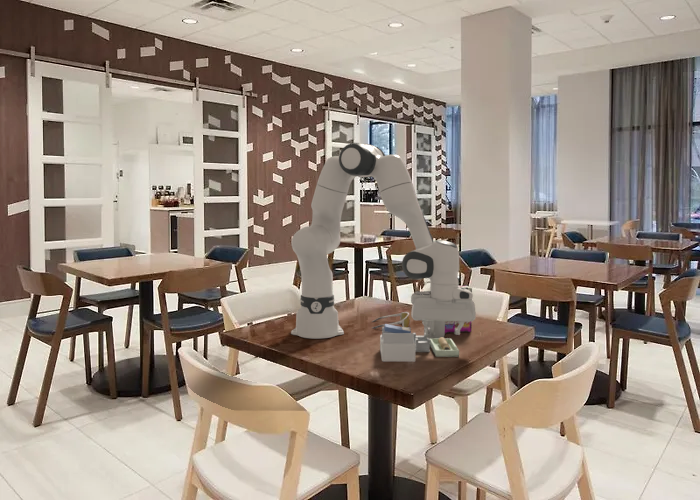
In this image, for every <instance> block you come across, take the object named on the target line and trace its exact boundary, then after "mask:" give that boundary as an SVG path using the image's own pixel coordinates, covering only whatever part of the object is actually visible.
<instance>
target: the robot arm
mask: <svg viewBox="0 0 700 500" xmlns="http://www.w3.org/2000/svg"><path fill="white" fill-rule="evenodd" d="M355 178H373V179H374V180H375V182H376V183H377V187H378V190H379V193H380V197H381V201H382V202H383V205H384V207H385V208H386V211H387V212H388V213H390V214H391V215H393V216H395V217H396V218H398V219H400V221H402V222H403V223H404V224H405V225H406V226H407V229H408V231H409V234H410V236H411V239H412V240H413V245H414V247H415V249H414V250H411V251H409V252H407V253H406V254H405V255H404V256H403V258H402V261H401V267H402V271H403V273H404V274H405V276H406V277H408V278H409V279H412V280H423V279H429V280H430V285H429V286H430V287H429V291H425V290H424V291H420V290H419V291H418V290H417V291H415V292H413V293H412V294H411V296H410V302H411V304H412V307H411V314H410V315H411V318H412V319H413V321H421V324H422V325H423V328H424V327H425V334H430V331H431V329H430V328H427V326H426V324H427V321H458V323H459V326H458V327H457V328H455V332H454V333H453V334H454V335H456V336H457V335H458V336H460V334H461V332H460V330H461V328H462V327H463V325H464V321H472V322H474V321H475V320H476V318H477V317H476V304H475V301H474V300H471V299H474V298H473V296H474V295H473V291H472V292H471V291H469V290H467V289H465V288H462V287H459V286H460V285H459V279H458V275H459V271H460V254H459V253H460V251H459V247H458V245H456V243H454V242H451V241H448V240H443V239H442V240H441V239H438V240H434V239H433V237H432V234H431V230H430V228H429V226H428V223H427V220H426V219H425V215H424V213H423V211H422V208H421V205H420V204H419V200H418V197H417V193H416V191H415V187H414V184H413V181H412V178H411V174H410V173H409V170H408V168H407V166H406V164H405V162H404V160H403V158H402V157H401V156H399V155H397V154H387V155H386V154H385V152H384V151H383V150H382V149H381V148H380V147H378V146H376V145H375V146H374V145H372V144H369V143H360V142H352V143H349V144H347V145H345V146H344V147H342V149H341V150H340V152H339V155H335V156H333V155H332V156H330V157H329V158H327V159H326V161H325V162H324V164H323V166H322V169H321V171H320V174H319V177H318V179H317V183H316V185H315V186H316V187H315V189H314V194H313V196H312V200H311V209H312V219H311V220H312V221H311V224H310V225H309V226H308V225H307V226H304V227H302V228H300V229H299V230H297V231H296V232H295V233H294V234H293V235H292V237H291V248H292V251H293V252H294V253H295V255H296V257H297V260H298V265H299V270H300V275H301V277H300V278H301V279H300V280H301V294H300V299H299V301H300V307H299V308H298V309H297V311H296V312H295V313H296V314H295V315H296V317H295V320H296V321H295V328H294V329H292V330H291V331H290V334H291V335H293V336H299V337H301V338H304V339H313V340H314V339H316V340H317V339H328V338H334V337H335V336H341V335H345V333H344V330H343V328H342V326H340V324H339V323H340V321H339V311H338V310H337V309H336V308H335V295H334V294H333V293H334V291H333V290H334V289H333V288H334V286H333V284H334V282H333V281H334V280H333V279H334V274H333V271H332V269H331V268H330V264H329V261H328V255H329V254H332V253H333V252H334V251H335V250H337V248H339V246H340V244H341V239H342V238H341V233H340V231H341V222H342V214H343V209H344V207H345V203H346V200H347V196H348V193H349V189H350V186H351V183H352V181H353V180H354V179H355Z"/></svg>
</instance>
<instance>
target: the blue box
mask: <svg viewBox="0 0 700 500" xmlns="http://www.w3.org/2000/svg"><path fill="white" fill-rule="evenodd" d="M384 324H385V325H384V326H383V327H384V331H386V332H391V333H412V331H411V330H410V329H409V328H405V327H402V326H397V325H395V324H394V325H389V324H390V323H384Z"/></svg>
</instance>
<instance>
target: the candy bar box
mask: <svg viewBox="0 0 700 500" xmlns="http://www.w3.org/2000/svg"><path fill="white" fill-rule="evenodd" d="M458 286H459V287H462V288H465V289H467V290H469V291H471V292H472V293H473V287H471V286H469V285H458ZM472 299H473V298H472ZM472 299H471V300H472ZM472 301H473V300H472ZM472 323H473V321H464V325H463V327H462V328H461V330H460V333H470V332H472ZM458 326H459V323H458V321H445V334H450V333H451V334H455V333H454V332H455V328H457V327H458Z"/></svg>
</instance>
